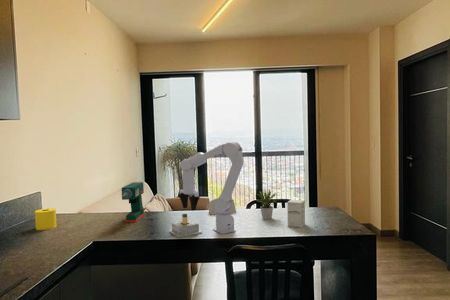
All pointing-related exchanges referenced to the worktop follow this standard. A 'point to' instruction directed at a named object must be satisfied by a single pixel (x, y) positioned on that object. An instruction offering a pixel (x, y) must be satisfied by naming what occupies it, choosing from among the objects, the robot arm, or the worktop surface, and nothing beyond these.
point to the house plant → (266, 205)
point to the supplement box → (296, 213)
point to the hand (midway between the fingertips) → (189, 209)
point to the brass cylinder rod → (184, 219)
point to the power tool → (134, 200)
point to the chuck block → (185, 229)
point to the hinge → (212, 211)
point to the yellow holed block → (45, 219)
